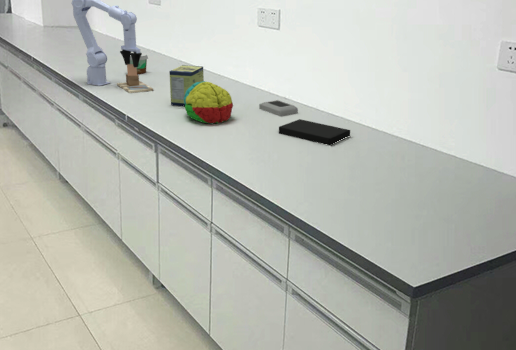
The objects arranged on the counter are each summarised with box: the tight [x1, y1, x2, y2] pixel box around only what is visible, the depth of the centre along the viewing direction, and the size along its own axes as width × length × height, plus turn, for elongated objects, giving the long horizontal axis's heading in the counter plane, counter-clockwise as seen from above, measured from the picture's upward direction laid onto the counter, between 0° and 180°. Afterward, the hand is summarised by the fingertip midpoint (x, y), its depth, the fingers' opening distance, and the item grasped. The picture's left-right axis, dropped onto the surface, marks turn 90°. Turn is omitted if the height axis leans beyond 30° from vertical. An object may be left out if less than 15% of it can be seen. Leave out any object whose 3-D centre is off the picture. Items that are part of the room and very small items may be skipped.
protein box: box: [169, 64, 205, 107], centre depth 271 cm, size 10×16×16 cm
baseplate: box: [116, 73, 154, 94], centre depth 299 cm, size 20×12×6 cm, turn 30°
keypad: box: [258, 99, 299, 117], centre depth 261 cm, size 10×4×15 cm
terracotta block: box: [126, 64, 137, 76], centre depth 299 cm, size 4×4×5 cm
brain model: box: [184, 80, 234, 124], centre depth 248 cm, size 24×19×15 cm
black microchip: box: [278, 118, 351, 146], centre depth 229 cm, size 14×23×3 cm, turn 51°
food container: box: [130, 54, 149, 76], centre depth 330 cm, size 12×6×10 cm, turn 105°
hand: (131, 65), depth 299 cm, fingers open, 7 cm apart
